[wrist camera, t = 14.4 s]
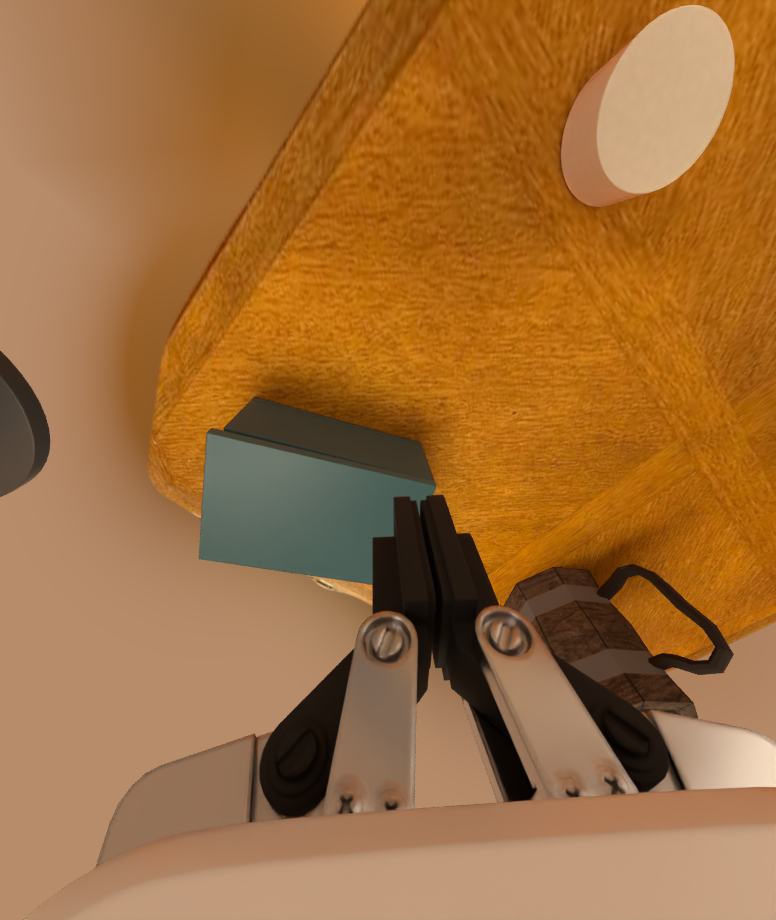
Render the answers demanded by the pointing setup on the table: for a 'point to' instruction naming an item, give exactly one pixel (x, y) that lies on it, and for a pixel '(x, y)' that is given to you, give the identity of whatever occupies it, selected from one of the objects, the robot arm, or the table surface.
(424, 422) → the table surface
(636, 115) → the cream short cylinder
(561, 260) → the table surface
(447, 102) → the table surface
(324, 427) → the box
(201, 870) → the robot arm
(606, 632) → the mug
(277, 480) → the lunchbox lid
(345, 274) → the table surface
